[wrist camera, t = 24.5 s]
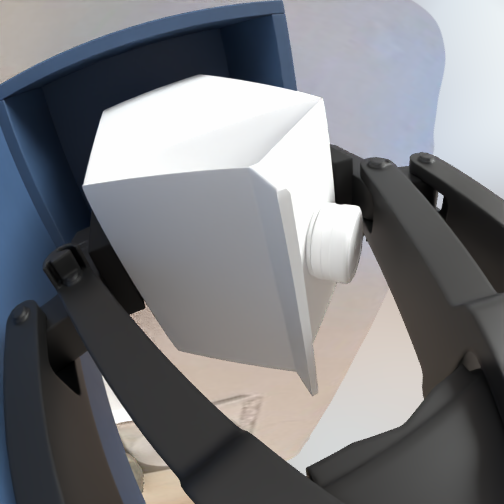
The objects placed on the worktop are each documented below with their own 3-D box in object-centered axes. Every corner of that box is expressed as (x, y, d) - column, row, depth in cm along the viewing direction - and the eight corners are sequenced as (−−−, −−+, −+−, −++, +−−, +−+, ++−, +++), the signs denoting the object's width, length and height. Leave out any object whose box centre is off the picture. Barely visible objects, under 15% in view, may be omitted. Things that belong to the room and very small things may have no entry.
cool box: (224, 18, 25) (283, -1, 16) (252, 160, 35) (309, 205, 26) (32, 81, 21) (-14, 92, 12) (86, 222, 31) (82, 294, 22)
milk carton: (137, 196, 23) (210, 444, 9) (102, 110, 19) (62, 285, 4) (224, 160, 24) (404, 340, 10) (199, 73, 20) (435, 133, 5)
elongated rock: (114, 488, 72) (143, 483, 76) (118, 502, 68) (149, 497, 73) (94, 452, 53) (136, 447, 58) (99, 473, 50) (143, 467, 54)
